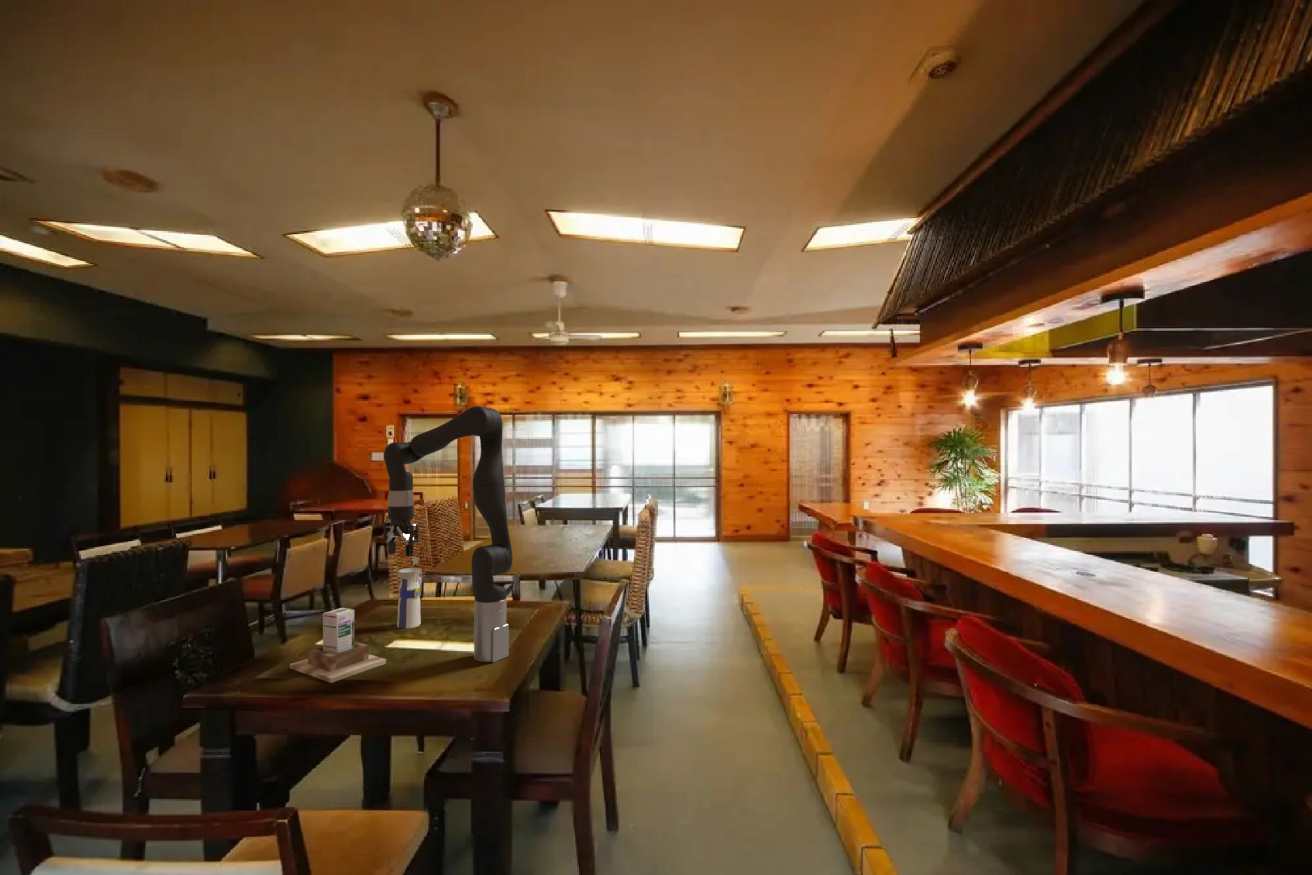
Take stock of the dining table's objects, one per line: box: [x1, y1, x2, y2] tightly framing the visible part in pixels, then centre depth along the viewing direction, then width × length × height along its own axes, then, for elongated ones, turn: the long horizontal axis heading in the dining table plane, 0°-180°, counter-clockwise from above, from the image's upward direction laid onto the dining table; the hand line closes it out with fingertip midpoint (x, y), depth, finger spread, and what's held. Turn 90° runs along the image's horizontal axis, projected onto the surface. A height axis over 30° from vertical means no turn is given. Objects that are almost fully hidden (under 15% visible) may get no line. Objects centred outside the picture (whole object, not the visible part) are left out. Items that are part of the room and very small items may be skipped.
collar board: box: [289, 640, 387, 684], centre depth 163 cm, size 20×16×5 cm
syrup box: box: [322, 607, 355, 654], centre depth 163 cm, size 6×6×14 cm
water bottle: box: [396, 555, 423, 629], centre depth 201 cm, size 8×9×25 cm
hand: (400, 555), depth 183 cm, fingers open, 8 cm apart
